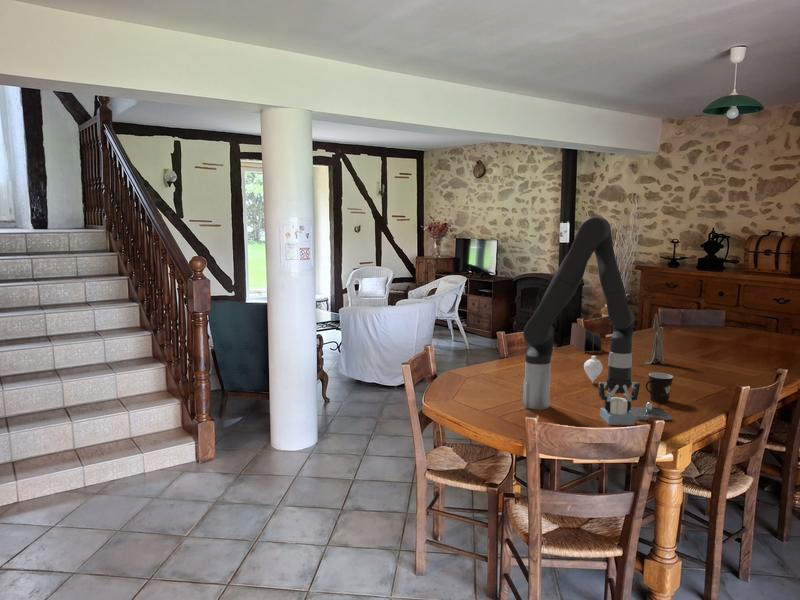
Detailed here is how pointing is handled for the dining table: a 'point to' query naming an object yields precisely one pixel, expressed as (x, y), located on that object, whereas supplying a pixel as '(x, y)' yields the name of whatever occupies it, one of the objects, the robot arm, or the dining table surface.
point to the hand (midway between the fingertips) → (617, 411)
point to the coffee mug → (659, 387)
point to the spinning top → (593, 368)
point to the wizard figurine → (657, 344)
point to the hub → (649, 412)
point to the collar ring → (618, 406)
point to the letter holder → (585, 339)
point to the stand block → (617, 418)
